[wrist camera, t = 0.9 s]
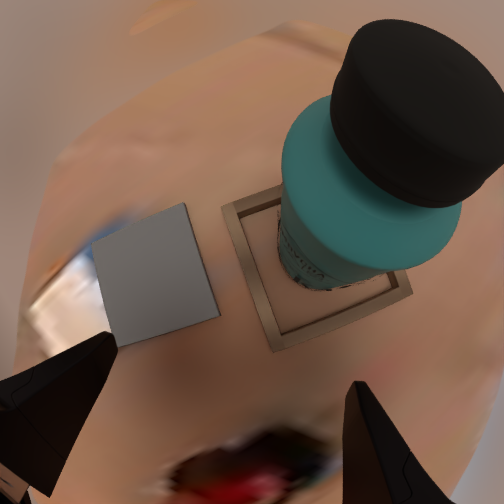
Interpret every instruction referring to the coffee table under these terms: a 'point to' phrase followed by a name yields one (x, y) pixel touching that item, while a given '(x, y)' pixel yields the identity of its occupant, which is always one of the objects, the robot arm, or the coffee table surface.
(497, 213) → the coffee table surface
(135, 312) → the grey coaster
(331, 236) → the beverage bottle
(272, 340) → the walnut collar
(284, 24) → the coffee table surface
